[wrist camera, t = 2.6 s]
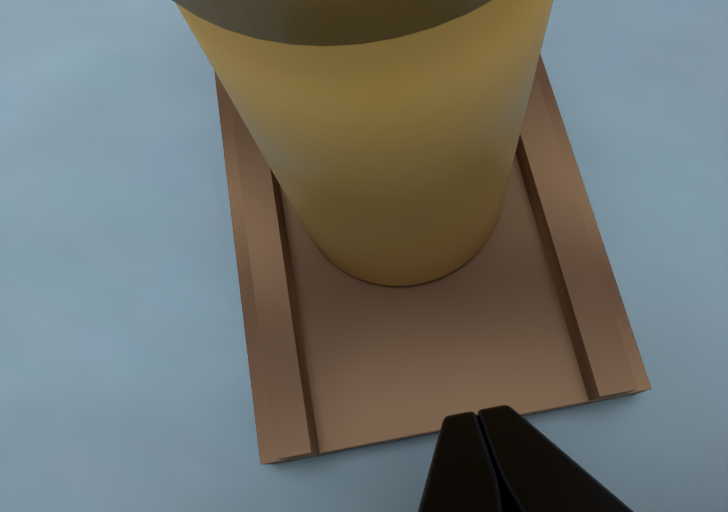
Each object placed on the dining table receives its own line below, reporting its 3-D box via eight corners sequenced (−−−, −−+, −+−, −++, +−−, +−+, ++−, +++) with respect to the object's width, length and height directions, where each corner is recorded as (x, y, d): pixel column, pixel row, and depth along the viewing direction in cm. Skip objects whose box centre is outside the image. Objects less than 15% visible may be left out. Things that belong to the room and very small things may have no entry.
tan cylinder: (536, 266, 15) (867, -403, 3) (309, 312, 15) (-97, -158, 4) (480, 73, 16) (571, -782, 5) (280, 118, 17) (-53, -601, 5)
